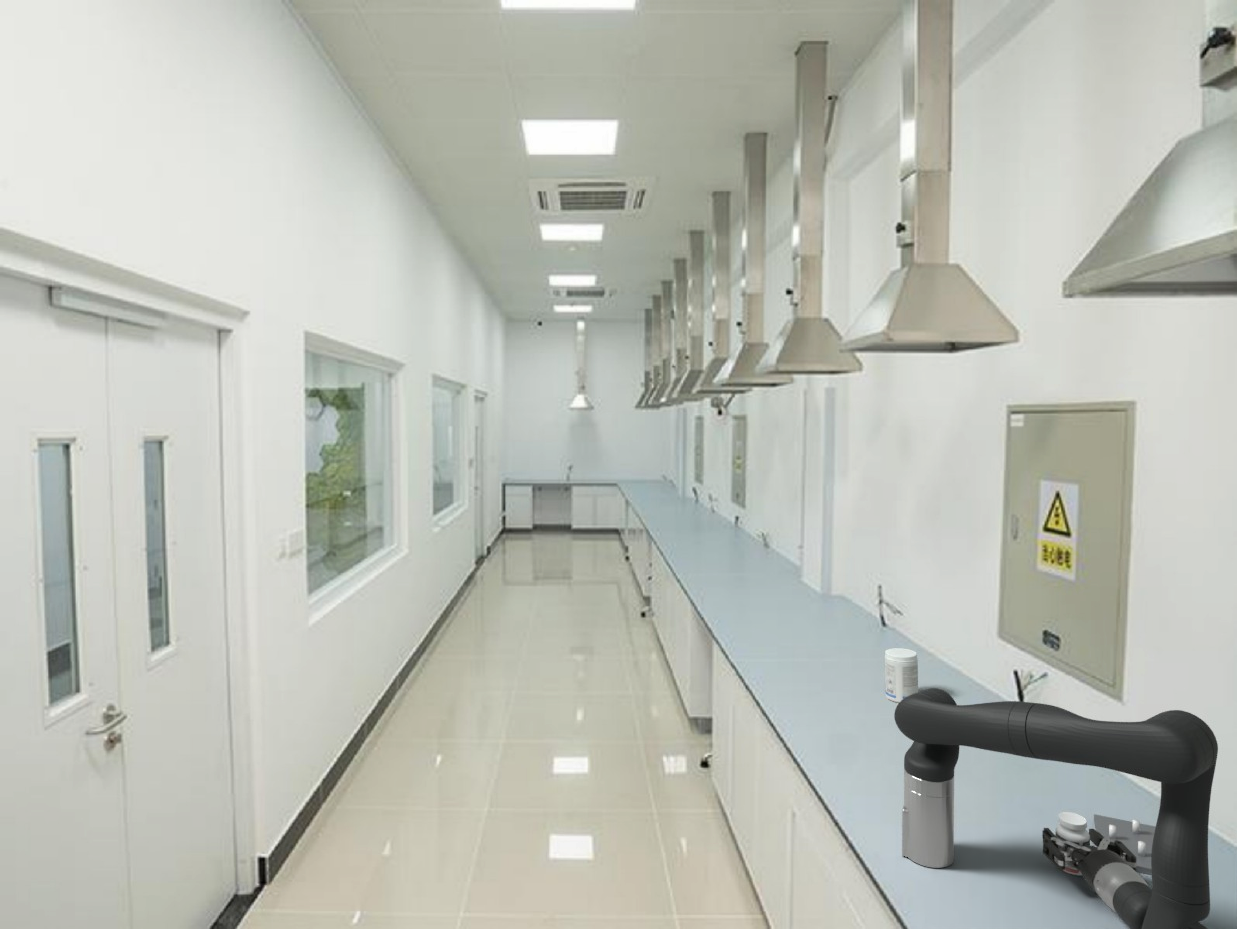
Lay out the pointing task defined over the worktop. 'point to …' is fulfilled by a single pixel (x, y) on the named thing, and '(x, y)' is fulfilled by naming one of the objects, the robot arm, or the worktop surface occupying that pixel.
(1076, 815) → the pill bottle
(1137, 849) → the grey pegged board
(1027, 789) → the worktop surface
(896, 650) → the supplement tub
